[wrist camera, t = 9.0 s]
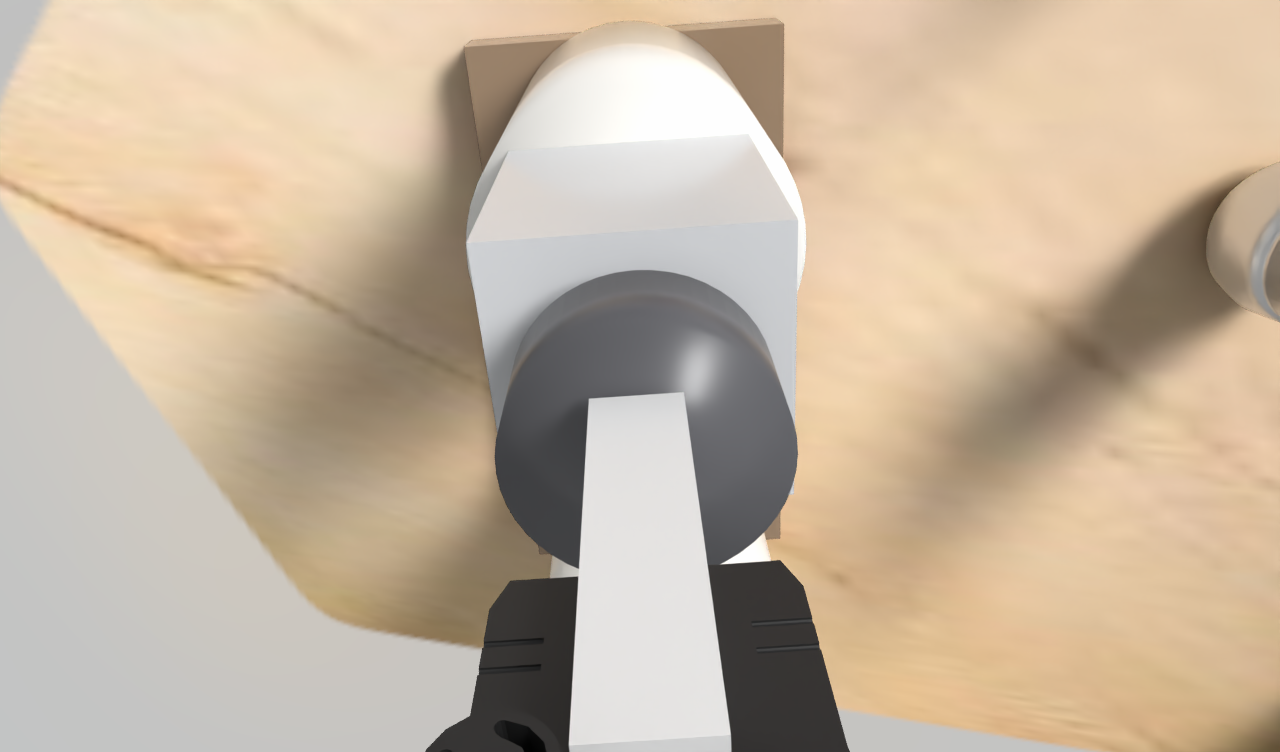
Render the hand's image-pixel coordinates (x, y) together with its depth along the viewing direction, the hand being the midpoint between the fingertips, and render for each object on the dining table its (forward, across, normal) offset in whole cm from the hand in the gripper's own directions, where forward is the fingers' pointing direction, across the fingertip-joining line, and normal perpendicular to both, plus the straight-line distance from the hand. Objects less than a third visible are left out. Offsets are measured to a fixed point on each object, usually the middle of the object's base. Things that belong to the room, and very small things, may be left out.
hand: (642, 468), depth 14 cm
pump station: (+25, 0, +8) cm, 27 cm away
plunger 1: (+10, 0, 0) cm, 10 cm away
